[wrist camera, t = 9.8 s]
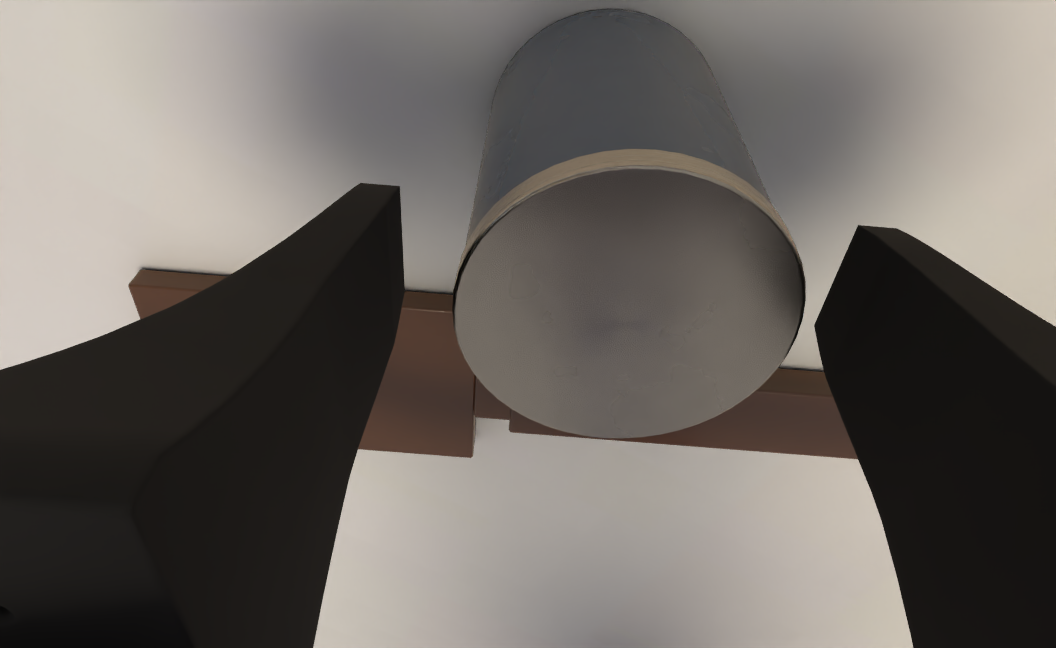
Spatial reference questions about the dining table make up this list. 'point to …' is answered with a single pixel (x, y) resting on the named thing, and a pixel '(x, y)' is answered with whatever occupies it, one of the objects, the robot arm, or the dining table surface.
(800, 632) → the dining table surface
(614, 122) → the tin
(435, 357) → the spatula
